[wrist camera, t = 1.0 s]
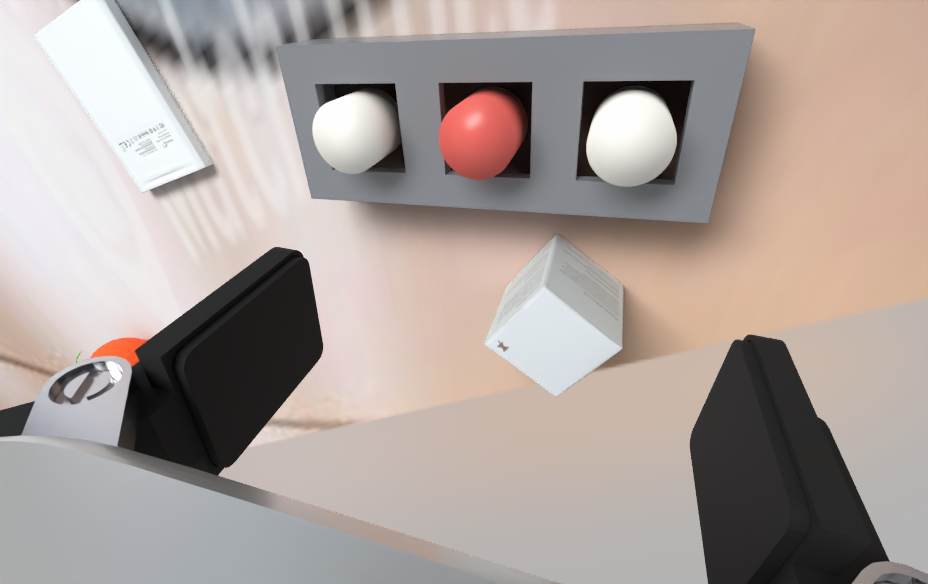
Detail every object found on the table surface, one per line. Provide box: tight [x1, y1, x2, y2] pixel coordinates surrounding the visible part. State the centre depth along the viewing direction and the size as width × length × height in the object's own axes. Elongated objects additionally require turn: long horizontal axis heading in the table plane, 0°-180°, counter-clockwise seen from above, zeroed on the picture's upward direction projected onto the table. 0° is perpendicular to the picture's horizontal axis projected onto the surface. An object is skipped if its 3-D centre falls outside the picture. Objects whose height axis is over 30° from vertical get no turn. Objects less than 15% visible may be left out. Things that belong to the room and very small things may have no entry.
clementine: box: [76, 338, 147, 366], centre depth 50 cm, size 8×7×7 cm
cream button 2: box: [586, 86, 677, 187], centre depth 24 cm, size 4×4×4 cm
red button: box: [439, 87, 528, 180], centre depth 26 cm, size 4×4×4 cm
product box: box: [485, 234, 624, 397], centre depth 31 cm, size 6×6×7 cm
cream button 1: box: [312, 88, 402, 174], centre depth 28 cm, size 4×4×4 cm
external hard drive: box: [34, 0, 213, 193], centre depth 36 cm, size 2×8×12 cm
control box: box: [276, 23, 755, 223], centre depth 27 cm, size 24×9×4 cm, turn 93°
